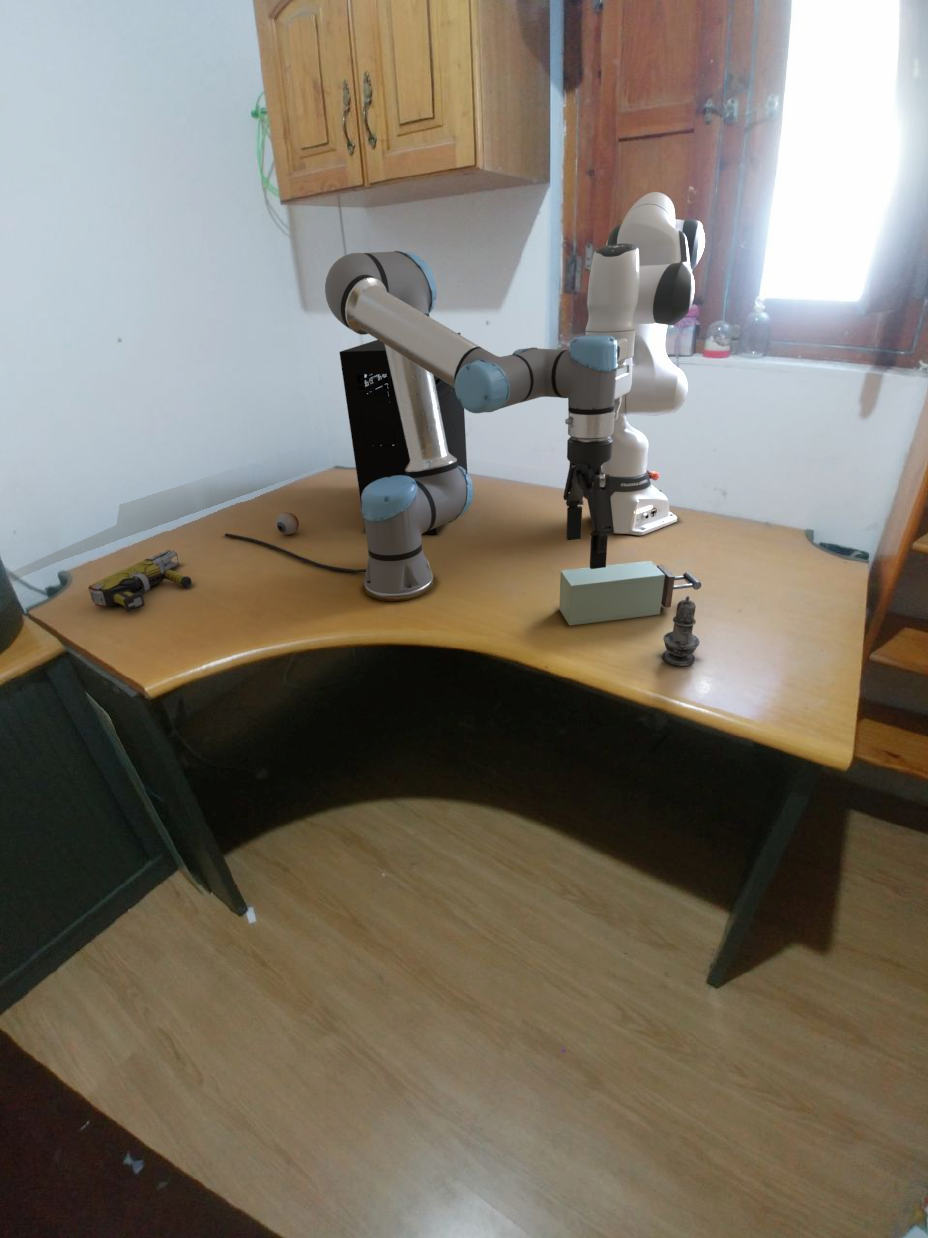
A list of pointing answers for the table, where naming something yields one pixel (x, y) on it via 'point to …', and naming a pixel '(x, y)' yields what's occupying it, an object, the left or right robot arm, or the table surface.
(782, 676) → the table surface
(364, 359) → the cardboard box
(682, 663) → the salt shaker
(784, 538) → the table surface
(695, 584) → the drawer
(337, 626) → the table surface
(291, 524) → the eyeball
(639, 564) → the cabinet
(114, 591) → the toy gun
